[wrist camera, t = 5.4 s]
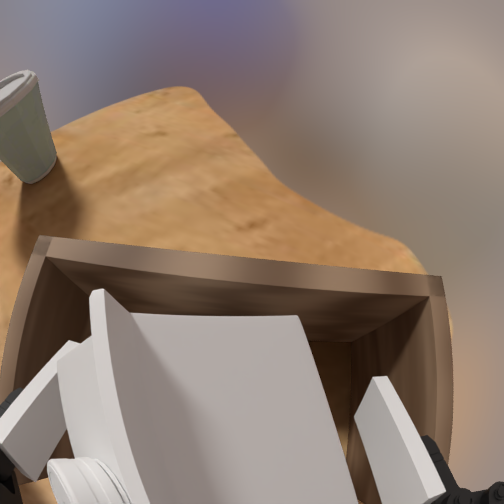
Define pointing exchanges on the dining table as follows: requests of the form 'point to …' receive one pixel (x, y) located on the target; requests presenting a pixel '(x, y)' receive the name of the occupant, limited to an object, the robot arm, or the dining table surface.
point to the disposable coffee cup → (25, 128)
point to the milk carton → (196, 413)
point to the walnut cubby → (246, 304)
